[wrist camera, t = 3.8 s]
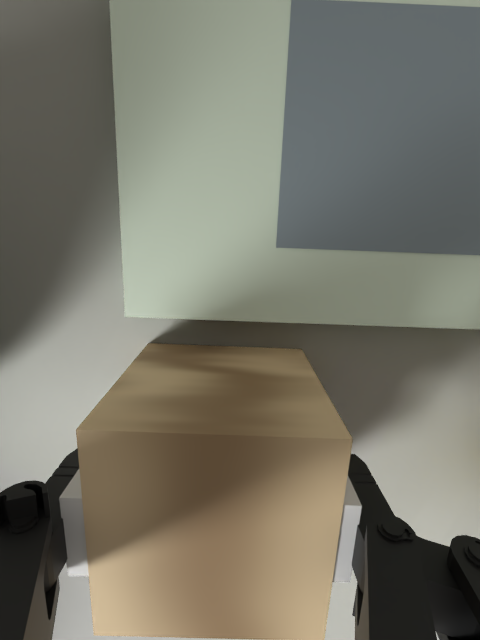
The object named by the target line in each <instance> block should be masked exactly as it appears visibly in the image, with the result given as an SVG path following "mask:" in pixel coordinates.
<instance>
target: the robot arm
mask: <svg viewBox="0 0 480 640" xmlns="http://www.w3.org/2000/svg"><path fill="white" fill-rule="evenodd" d="M65 563H67V571H68V576H89V573H88V562H87V550H86V539H85V527H84V516H83V504H82V492H81V481H80V469H79V458H78V448H77V449H76V450H75V451H73V452H72V453H70V454H69V455H67V456H66V458H65V459H64V460H63V461H62V463H61V464H60V465H59V468H57V469H56V470H55V472H54V473H53V474H52V477H50V478H49V479H48V481H47V482H46V483H45V484H44V483H43V482H40V481H25V482H21V483H18V484H15V485H13V486H11V487H9V488H7V489H5V490H3V491H2V492H1V493H0V640H52V635H53V628H54V621H55V615H56V608H57V602H58V595H59V578H58V576H59V574H60V572H61V570H62V568H63V566H64V564H65ZM352 568H353V570H354V573H355V576H356V579H357V582H358V583H357V589H356V596H355V602H354V608H353V614H352V615H353V616H355V640H437V637H436V632H437V635H438V637H439V639H440V640H480V539H478V538H475V537H471V536H467V535H462V536H456V537H455V538H453V539H452V541H451V545H450V547H448V546H445V545H441V544H438V543H435V542H431V541H428V540H425V539H422V538H420V537H418V536H416V534H415V532H414V531H413V529H412V528H411V527H410V526H409V525H408V524H407V523H406V522H404V521H403V520H401V519H400V518H398V517H396V516H395V515H394V514H393V512H392V510H391V508H390V506H389V505H388V503H387V501H386V499H385V498H384V496H383V494H382V492H381V490H380V489H379V487H378V485H376V481H375V480H374V478H373V476H371V473H370V471H369V469H368V467H367V465H366V464H365V463H364V462H363V461H362V460H361V459H360V458H359V457H358V456H356V455H355V454H351V455H350V462H349V469H348V476H347V483H346V490H345V497H344V504H343V511H342V518H341V525H340V532H339V539H338V546H337V553H336V560H335V567H334V574H333V581H332V582H350V581H351V574H352ZM435 631H436V632H435Z"/></svg>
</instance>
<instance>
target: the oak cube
mask: <svg viewBox="0 0 480 640" xmlns="http://www.w3.org/2000/svg"><path fill="white" fill-rule="evenodd" d="M76 435H77V446H78V458H79V469H80V481H81V492H82V504H83V516H84V527H85V539H86V550H87V562H88V573H89V585H90V596H91V608H92V619H93V631H94V635H100V636H141V637H183V638H225V639H266V640H324V638H325V631H326V624H327V616H328V609H329V602H330V595H331V588H332V581H333V574H334V567H335V560H336V553H337V546H338V539H339V532H340V525H341V518H342V511H343V504H344V497H345V490H346V483H347V476H348V469H349V462H350V455H351V448H352V441H353V439H352V437H351V435H350V434H349V432H348V430H347V428H346V427H345V425H344V423H343V421H342V419H341V418H340V416H339V414H338V412H337V411H336V409H335V407H334V405H333V404H332V402H331V400H330V398H329V397H328V395H327V393H326V391H325V390H324V388H323V386H322V384H321V382H320V381H319V379H318V377H317V375H316V374H315V372H314V370H313V368H312V367H311V365H310V363H309V361H308V360H307V358H306V356H305V354H304V353H303V351H302V349H286V348H261V347H235V346H210V345H184V344H158V343H148V344H147V346H146V347H145V348H144V349H143V350H142V352H141V353H140V354H139V355H138V356H137V358H136V359H135V360H134V361H133V362H132V364H131V365H130V366H129V367H128V368H127V370H126V371H125V372H124V373H123V374H122V376H121V377H120V378H119V379H118V380H117V381H116V383H115V384H114V385H113V386H112V387H111V389H110V390H109V391H108V392H107V393H106V395H105V396H104V397H103V398H102V399H101V401H100V402H99V403H98V404H97V405H96V407H95V408H94V409H93V410H92V411H91V413H90V414H89V415H88V416H87V417H86V418H85V420H84V421H83V422H82V423H81V424H80V426H79V427H78V428H77V429H76Z"/></svg>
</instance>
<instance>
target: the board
mask: <svg viewBox="0 0 480 640" xmlns="http://www.w3.org/2000/svg"><path fill="white" fill-rule="evenodd" d="M109 8H110V28H111V48H112V69H113V89H114V109H115V129H116V149H117V169H118V190H119V210H120V230H121V250H122V270H123V290H124V311H125V317H136V318H165V319H193V320H222V321H250V322H278V323H307V324H335V325H364V326H392V327H421V328H449V329H478V330H480V0H109Z"/></svg>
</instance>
